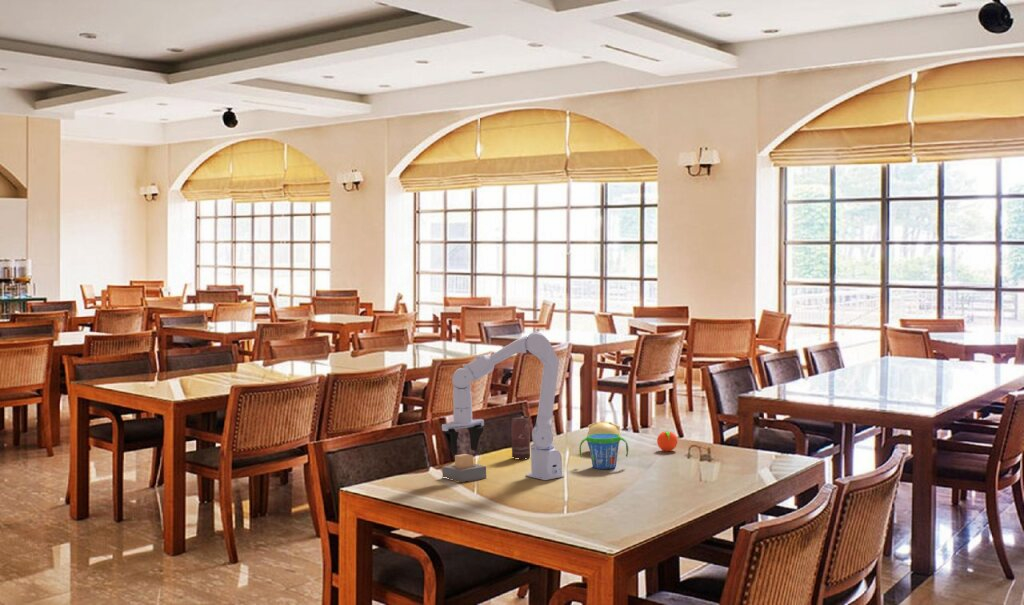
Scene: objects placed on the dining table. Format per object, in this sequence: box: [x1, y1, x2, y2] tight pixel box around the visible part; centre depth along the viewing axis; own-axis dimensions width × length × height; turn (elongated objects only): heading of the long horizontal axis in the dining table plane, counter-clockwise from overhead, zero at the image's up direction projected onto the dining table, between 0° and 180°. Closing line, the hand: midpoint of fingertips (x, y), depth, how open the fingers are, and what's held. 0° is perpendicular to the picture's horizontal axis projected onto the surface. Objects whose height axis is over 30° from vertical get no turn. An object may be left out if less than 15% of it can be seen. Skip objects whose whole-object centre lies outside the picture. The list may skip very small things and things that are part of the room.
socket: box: [441, 463, 487, 483], centre depth 304 cm, size 10×10×4 cm
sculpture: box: [586, 420, 621, 448], centre depth 343 cm, size 12×12×11 cm
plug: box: [454, 453, 474, 469], centre depth 303 cm, size 4×4×6 cm
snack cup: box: [579, 433, 629, 470], centre depth 315 cm, size 16×10×10 cm
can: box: [510, 415, 531, 459], centre depth 334 cm, size 6×6×14 cm
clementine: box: [656, 430, 678, 452], centre depth 341 cm, size 8×7×7 cm
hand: (463, 451), depth 303 cm, fingers open, 7 cm apart
